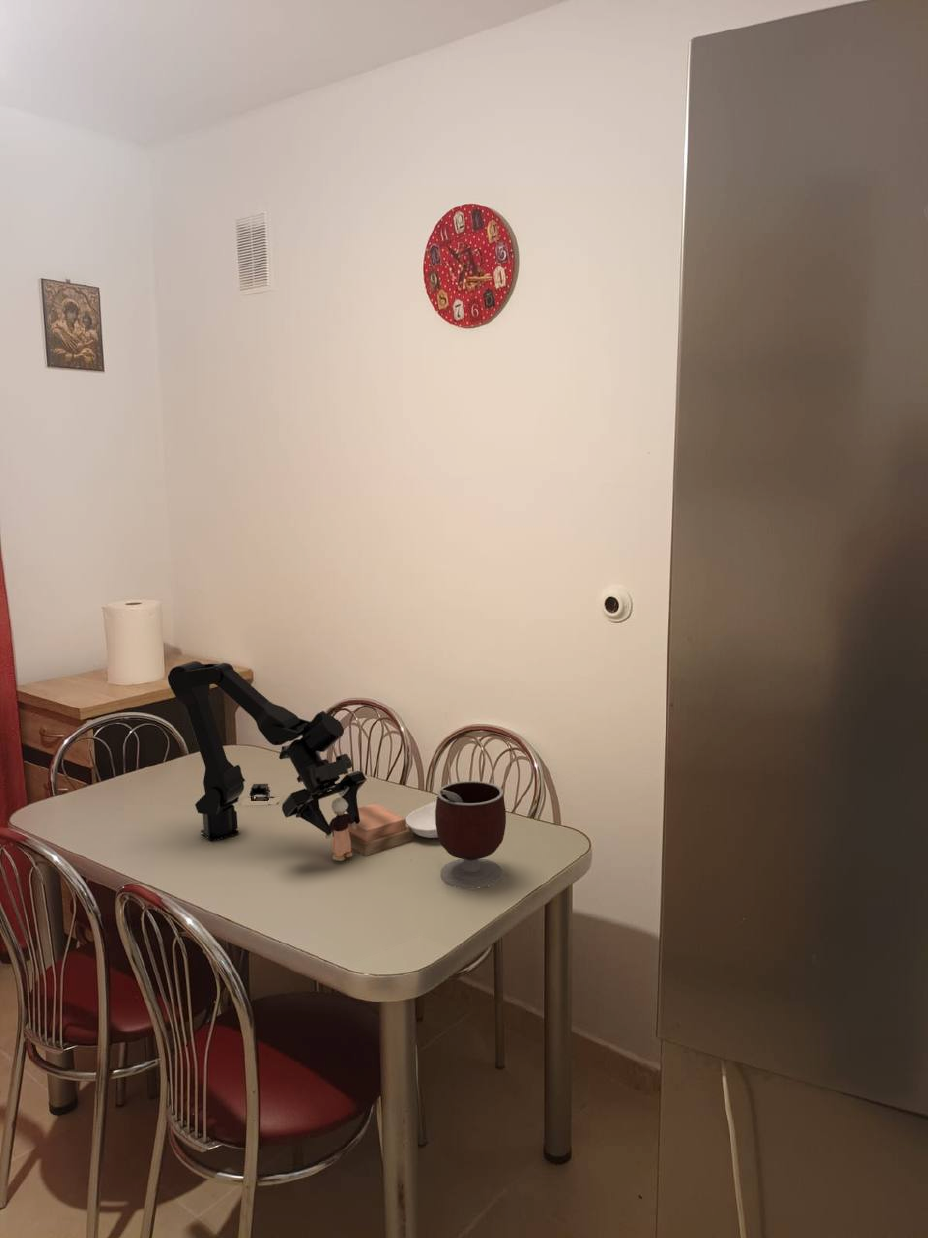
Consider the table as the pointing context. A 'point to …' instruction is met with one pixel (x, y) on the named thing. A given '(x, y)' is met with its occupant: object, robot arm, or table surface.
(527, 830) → the table surface
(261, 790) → the black barn door light
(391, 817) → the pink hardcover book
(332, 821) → the grandmother figurine
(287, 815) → the robot arm
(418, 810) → the spoon rest
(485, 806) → the mate gourd
